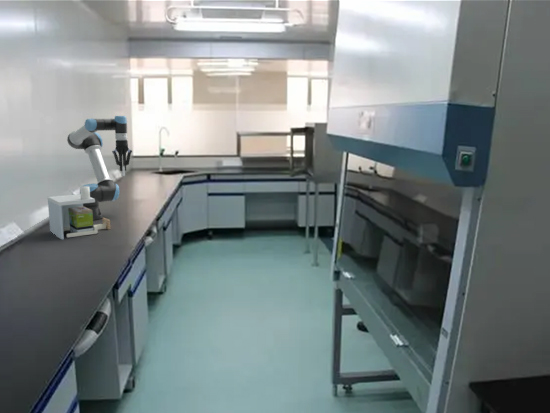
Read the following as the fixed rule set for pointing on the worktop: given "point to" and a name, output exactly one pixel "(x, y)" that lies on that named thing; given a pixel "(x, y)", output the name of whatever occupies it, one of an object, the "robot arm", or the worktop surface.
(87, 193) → the white rounded capsule
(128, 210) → the worktop surface
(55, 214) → the panel
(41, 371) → the worktop surface
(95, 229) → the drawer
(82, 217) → the tea box
